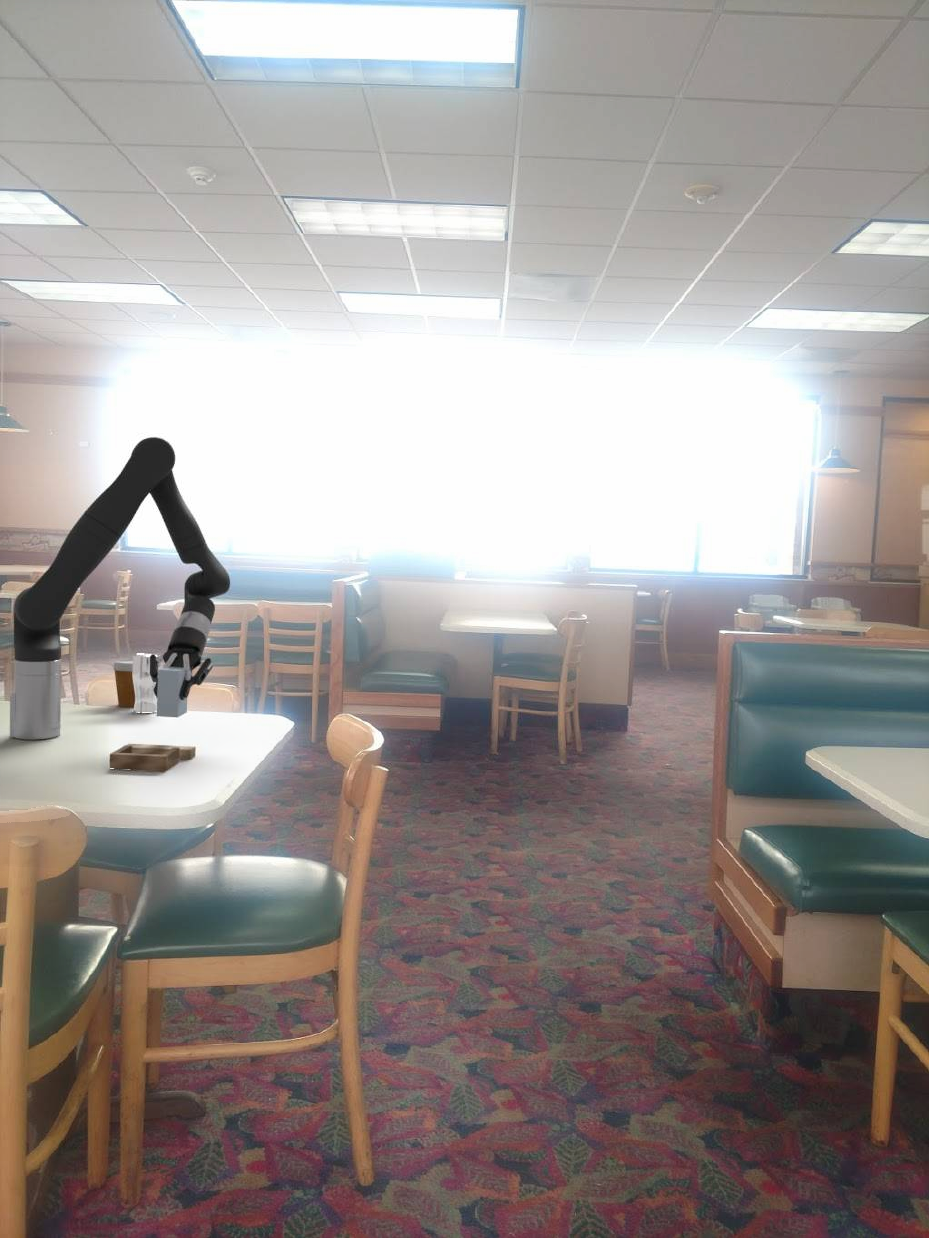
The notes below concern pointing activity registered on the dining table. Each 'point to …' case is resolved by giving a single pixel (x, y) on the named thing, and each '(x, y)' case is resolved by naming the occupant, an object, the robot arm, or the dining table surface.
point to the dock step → (163, 750)
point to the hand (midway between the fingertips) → (169, 696)
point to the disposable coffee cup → (124, 682)
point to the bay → (143, 760)
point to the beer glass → (143, 684)
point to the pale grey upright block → (170, 692)
